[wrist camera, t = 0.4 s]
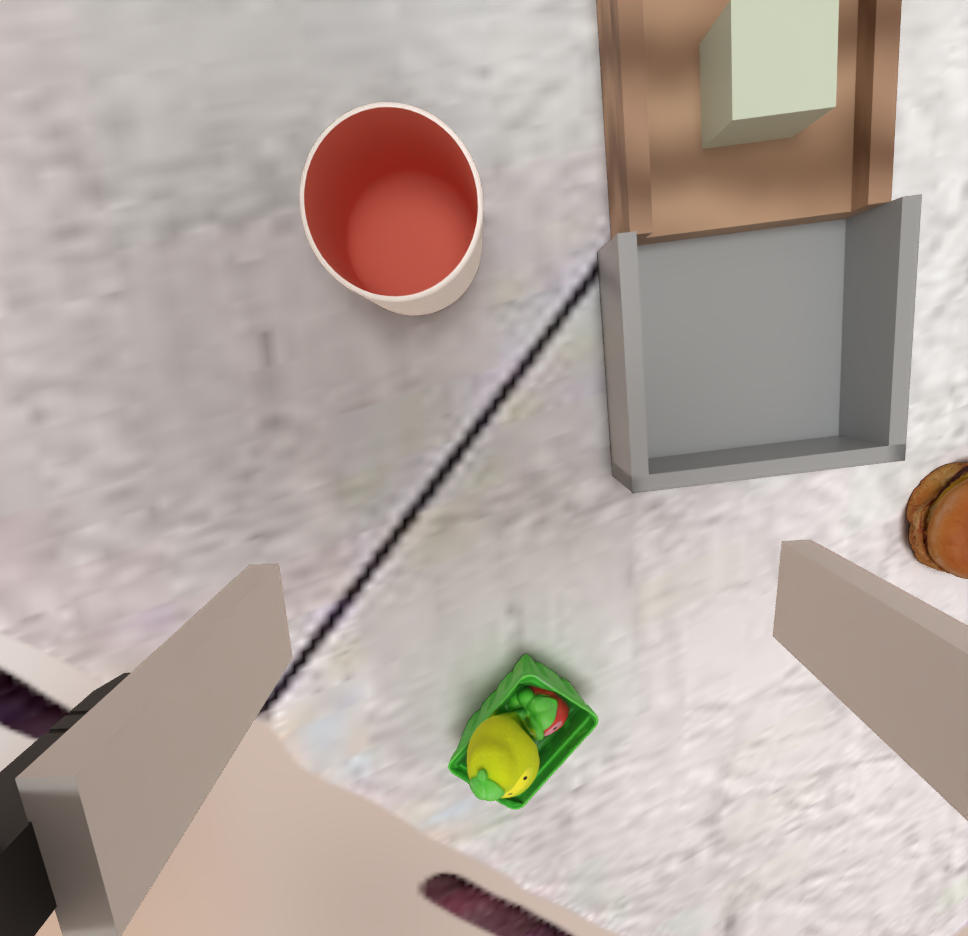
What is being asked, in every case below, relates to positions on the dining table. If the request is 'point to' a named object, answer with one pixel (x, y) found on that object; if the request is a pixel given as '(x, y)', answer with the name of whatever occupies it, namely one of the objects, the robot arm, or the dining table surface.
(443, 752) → the dining table surface
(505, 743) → the fruit basket
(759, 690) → the dining table surface
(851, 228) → the box
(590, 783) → the dining table surface
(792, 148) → the wooden tray
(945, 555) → the burger
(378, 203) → the cup
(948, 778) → the robot arm
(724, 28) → the tile
